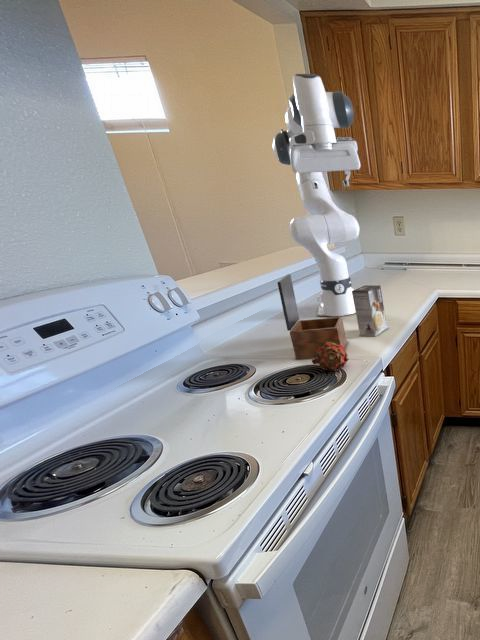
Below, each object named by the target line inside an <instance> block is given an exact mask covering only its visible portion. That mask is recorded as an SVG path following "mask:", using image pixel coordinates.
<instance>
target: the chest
mask: <svg viewBox="0 0 480 640" xmlns="http://www.w3.org/2000/svg"><path fill="white" fill-rule="evenodd" d="M289 336H290V340H291V345H292V348H293V352H294V356H295V359H296V360H304V359H315V358H316V356H317V355H316V356H315V357H314V355H315V354H316V351H317V350H318V348H319V347H323V346H324V345H325V344H326V343H327V342H333V343H335V344H337V345H338V344H340V345H341V346H343V347H344V348H346V346H347V342H348V340H347V336H346V331H345V325H344V319H343V316H332V317H325V318H324V317H322V318H312V319H301V320H300V319H299V320H298V321H297V323H296V324H295V325H294V327H293V328H292V329H291V330H290V331H289Z"/></svg>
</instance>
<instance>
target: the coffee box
mask: <svg viewBox="0 0 480 640" xmlns="http://www.w3.org/2000/svg"><path fill="white" fill-rule="evenodd" d="M352 295H353V300H354V305H355V311H356V313H355V315H356V321H357V326H358V327H357V328H358V331H359V336H362V337H364V336H365V337H377V336H378V335H380V334H381V333H382V332H384V331H385V330H387V329H388V326H387V319H386V313H385V306H384V300H383V294H382V288H381V285H379V284H377V285H362V286H361V287H358V288H356V289H355V290H353V291H352Z"/></svg>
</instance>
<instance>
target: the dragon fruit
mask: <svg viewBox="0 0 480 640" xmlns="http://www.w3.org/2000/svg"><path fill="white" fill-rule="evenodd" d="M345 348H346V347H345ZM345 348H344V347H343V346H341V345H340V344H338V345H337V344H335V343H333V342H327V343H326V344H325V345H324V346H323V347H319V348H318V350H317V351H316V354H315V355H314V358H311V363H312V364H313V365H319V367H320V369H321V368H324V369H322V370H324V371H326V372H327V371H331V372H339V371H340V370H341V369H343V368H344V367H345V365H347V362H348V361H349V360H350V359H349V357H348V354H347V352H346V349H345ZM316 355H317V356H316ZM315 356H316V357H315ZM326 368H327V369H326Z"/></svg>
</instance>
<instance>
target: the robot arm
mask: <svg viewBox="0 0 480 640" xmlns="http://www.w3.org/2000/svg"><path fill="white" fill-rule="evenodd" d="M292 83H293V92H294V93H292V95H291V96H290V97H289V98H288V100H287V101H288V104H289V106H288V107H287V109H286V110H285V115H284V118H285V119H284V120H285V125H286V127H287V129H286V130H284V129H283V128H281V129H280V131H279V132H278V133H276V134H275V136H274V137H273V141H272V150H273V153H274V156H275V157H276V159H277V160H278V162H279V163H280V164H283V165H286V166H291V167H290V168H291V170H292V172H293V173H294V174H295V175H296V184H297V189H298V192H299V196H300V199H301V203H302V206H303V209H305V211H306V212H308V213H309V214H305V215H301V216H297V217H293V218H292V219H291V220H290V222H289V225H288V226H289V227H288V229H289V234H290V236H291V238H292V240H293V241H294V242H295V243H297V244H298V245H300V246H302V247H303V248H304V249H305V250H307V251H308V252H309V253H310V254H311V256H312V257H313V258H314V261H315V263H316V266H317V270H318V273H319V278H320V280H319V286H320V288H321V292H320V294H319V296H318V297H317V298H316V299H317V303H318V304H319V306H318V310H317V316H318V317H344V316H348V315H353V314H356V311H355V305H354V300H353V295H352V291H353V290H356V289H355V288H353V287H352V286H353V285H352V284H353V283H352V279H351V277H350V274H349V269H348V264H347V260H346V258H345V257H344V256H343V255H342V254H340V253H337V252H335V251H332V250H330V249H329V248H328V245H329V244H330V245H331V244H343V243H349V242H351V241H355V240H357V239H358V237H359V236H360V231H361V229H360V224H359V222H358V220H357V218H356V216H354V215H353V214H350V213H348V212H345V211H344V210H342V209H341V208H340V207H339V206H338V205H337V204H336V203H335V202H334V201H333V199H332V196H331V193H330V190H329V189H328V185H327V182H326V180H325V177H324V175H323V173H325V172H326V173H327V172H343V171H344V174H345V175H346V177H345V180H342V183H343V187H345V188H346V187H347V188H348V187H350V178H351V171H356V170H357V171H358V170H360V169H361V166H362V165H361V160H360V158H359V154H358V151H359V146H358V142H357V141H356V140H355V139H354V138H353V137H351V136H346V137H345V136H336V131H335V129H349V128H350V127H351V126H352V125H353V123H354V120H355V112H354V106H353V103H352V100H351V99H350V97H348V95H347V94H345V93H344V92H343V91H342V90H337V91H336V90H335V91H326V89H325V85H324V83H323V80H322V77H321V76H320V75H318V74H316V73H295V74H294V75H293V76H292Z"/></svg>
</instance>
